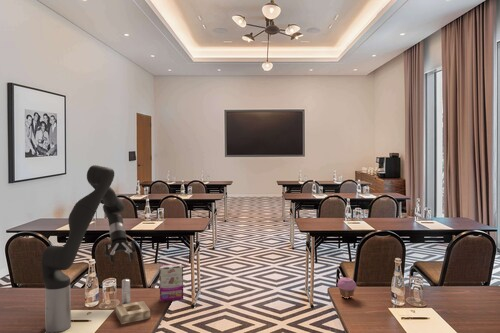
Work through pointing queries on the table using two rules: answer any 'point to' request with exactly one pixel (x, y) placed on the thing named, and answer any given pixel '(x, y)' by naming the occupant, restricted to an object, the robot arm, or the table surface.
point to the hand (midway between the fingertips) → (122, 261)
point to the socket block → (132, 312)
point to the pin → (125, 291)
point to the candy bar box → (171, 282)
